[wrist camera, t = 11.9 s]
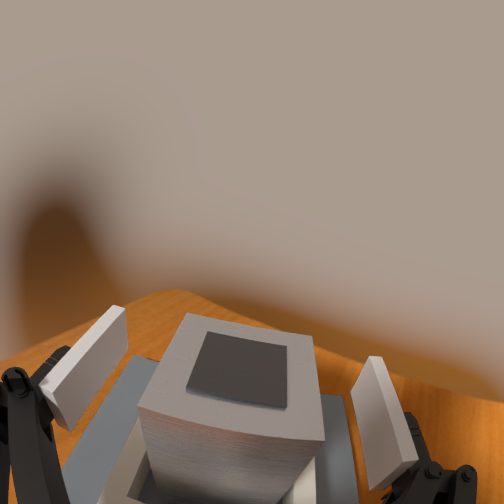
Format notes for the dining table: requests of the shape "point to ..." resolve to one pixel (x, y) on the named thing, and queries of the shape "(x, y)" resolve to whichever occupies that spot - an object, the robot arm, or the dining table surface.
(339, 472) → the cradle
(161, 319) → the dining table surface
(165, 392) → the tall square post
